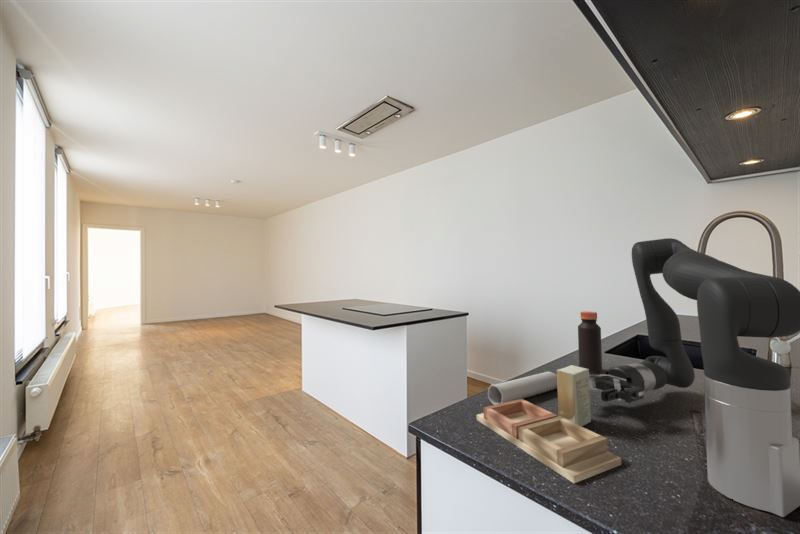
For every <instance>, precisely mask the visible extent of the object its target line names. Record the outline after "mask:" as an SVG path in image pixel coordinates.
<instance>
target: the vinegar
mask: <svg viewBox="0 0 800 534" xmlns="http://www.w3.org/2000/svg"><path fill="white" fill-rule="evenodd" d="M580 321H581V322H580V324H579V325H578V326H577V338H578V340H577V342H578V343H577V344H578V367H582V368H586V369H589V371H590V372H592V373H598V374H601V373H602V372H603V362H602V361H603V357H602V356H603V355H602V351H603V350H602V332H601V331H602V328H601V327H600V325H599V324H598V323H597V321H598V313H597V312H596V311H581V312H580ZM600 372H601V373H600Z"/></svg>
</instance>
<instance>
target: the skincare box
mask: <svg viewBox="0 0 800 534" xmlns="http://www.w3.org/2000/svg"><path fill="white" fill-rule="evenodd" d="M556 375H557V388H556V389H557V405H558V406H557V407H558V411H557V413H558V417H559V416H560V417H562V418H564V419H566V420H568V421H571V422H573V423H575V424H577V425H579V426H581V427H583V426H586V425H588V424H589V423H591V422H592V416H591V415H592V414H591V412H592V411H591V396H590V395H591V392H590V391H591V390H590V387H589V369H586V368H582V367H579V365H578V366H577V365H572V364H570V365H567V366H565V367H562V368H558V369H556Z"/></svg>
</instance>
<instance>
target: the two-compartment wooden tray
mask: <svg viewBox="0 0 800 534" xmlns="http://www.w3.org/2000/svg"><path fill="white" fill-rule="evenodd" d="M476 421H478V422H479V423H481V424H482V425H483V426H485V427H487V428H489V429H490V430H492V431H493V432H495V433H496V434H497V435H499V436H501V437H502V438H503V439H505V440H507V441H508V442H510V443H511V444H512V445H515V446H516V447H517V448H519V449H521V450H522V451H523V452H525V453H527V454H528V455H530V456H532V458H535V460H537V461H539V462H540V463H542V464H544V465H545V466H547V468H550V469H551V470H552V471H554V472H556V473H557V474H559V475H560V476H561V477H563V478H565V479H567V480H568V481H569V482H571V483H573V484H576V483H579V482H582V481H584V480H586V479H590V478H591V477H594V476H597V475H599V474H601V473H605V472H606V471H610V470H612V469H614V468H617V467H619V466H621V465H622V458H621V457H620V456H618V455H616V454H614V453H612V452H610V451H608V438H607V437H606V436H603V435H600V434H598V433H596V432H594V431H592V430H590V429H588V428H585V427H583V426H582V427H581V426H579V425H577V424H575V423H573V422H571V421H568V420H566V419H564V418H562V417H560V416H559V415H557V414H555V413H554V412H551V411H548V410H547V409H544V408H542V407H540V406H538V405H536V404H534V403H532V402H530V401H528V400H525V399H518V400H513V401H509V402H505V403H500V404H496V405H494V404H492V405H486V406H483V412H481V413H478V414H476Z"/></svg>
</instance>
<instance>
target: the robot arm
mask: <svg viewBox="0 0 800 534" xmlns="http://www.w3.org/2000/svg"><path fill="white" fill-rule="evenodd" d="M631 260H632V261H631V262H632V268H633V271H634V275H635V279H636V284H637V287H638V288H637V289H638V291H639V295H640V299H641V302H642V306H643V309H644V310H643V311H644V314H645V318H646V319H645V320H646V327H647V335H648V343H649V346H650V347H651V348H652V349H654V350H655V351H659V352H661V353H663V354H664V355H665V356H666V357H664V356H660V355H651V356H648V357H646V358H645V359H644V360H643V361H641V362H636V363H628V364H622V365H616V366H612V367H609V368H608V369H607V370H606V371H605V372H604V374H603V373H602V374H601V373H599V374H592V372H590V371H589V387H590V391H601V392H600V394H601V395H600V396H601V402H606V403H607V402H609V401H615V400H616V401H622V400H624V402H625V403H628V404H631V403H635V402H637V401H641V400H643V399H644V396H645V394H648V393H649V392H652V391H656V390H659V389H662V388H663V387H664V386H666V385H669V386H673V387H677V388H683V389H686V388H689V387H690V386H692V385H693V383H694V381H695V377H696V376H695V370H694V367H693V364H692V362H691V360H690V358H689V356H688V354H687V352H686V349H685V347H684V345H683V342H682V341H683V340H682V332H681V331H682V330H681V325H680V320H679V317H678V315H677V313H676V312H675V311H674V309H673V308H672V307H671V306H670V304H668V302H667V301H665V299H664V298H663V297H662V296H661V295H660V293H659V292H658V291H657V290H656V288H655V287H654V285H653V282H652V278H651V275H657V274H662V278H663V279H664V281H665V283H666V284H667V286H669V287H670V288H672V289H673V290H674V291H676V292H677V293H678V294H680V295H681V296H683V297H686V298H688V299H689V300H694V301H696V309H697V311H696V312H697V318H698V327H699V336H700V351H701V357H702V364H703V374H704V375H703V377H704V379H703V380H704V406H705V408H704V409H705V410H704V411H705V413H704V414H705V436H706V437H705V439H706V470H707V481H708V483H709V484H710V486H711V487H712V488H713V489H715V491H716V492H718V493H720V494H721V495H723V496H725V497H727V498H728V499H731V500H732V499H733V501H735V502H737V503H739V504H742V505H744V506H747V507H749V508H753V509H756V510H761V511H765V512H768V513H772V514H774V515H776V516H779V517H781V518H785V517H787V515H789V514H790V513H792V512H794V511H795V510H796V509H797V508H799V507H800V442H799V439H798V438H796V437H793V430H792V429H793V428H792V426H793V425H792V404H791V401H792V400H791V379H790V378H791V377H790V372H789V370H788V369H787V368H786V367H785V366H784V365H782V364H780V363H777V362H775V361H772V360H769V359H765V358H762V357H759V356H756V355H753V354H751V353H749V352H746V351H745V350H743V349H742V348H741V347H740V343H739V339H738V337H741V338H743V337H746V338H769V339H770V338H783V337H784V338H785V337H789V336H792V335H795V334H798V333H799V332H800V289H798V288H797V287H796V286H795V285H793V283H791V282H789V281H787V280H785V279H783V278H780V277H776V276H772V275H768V274H762V273H756V272H753V271H749V270H745V269H743V268H740V267H737V266H735V265H732V264H730V263H727V262H725V261H723V260H719V259H717V258H716V257H713V256H711V255H708V254H705V253H703V252H699V251H697V250H695V249H693V248H691V247H689V246H688V245H686V244H685V243H684V242H682V241H680V240H679V239H676V238H671V237H669V238H658V239H652V240H643V241H637V242H635V243H634V244H633V246H632V249H631ZM593 382H594V384H595V385H593Z"/></svg>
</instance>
